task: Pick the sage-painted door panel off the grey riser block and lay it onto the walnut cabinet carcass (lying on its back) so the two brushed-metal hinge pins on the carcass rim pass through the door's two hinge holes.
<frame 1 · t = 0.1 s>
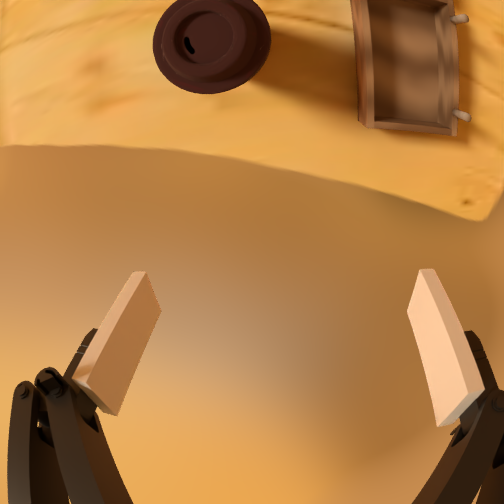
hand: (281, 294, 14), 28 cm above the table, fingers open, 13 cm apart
coffee cup: (236, 49, 30), on the table
carcass: (400, 57, 28), on the table
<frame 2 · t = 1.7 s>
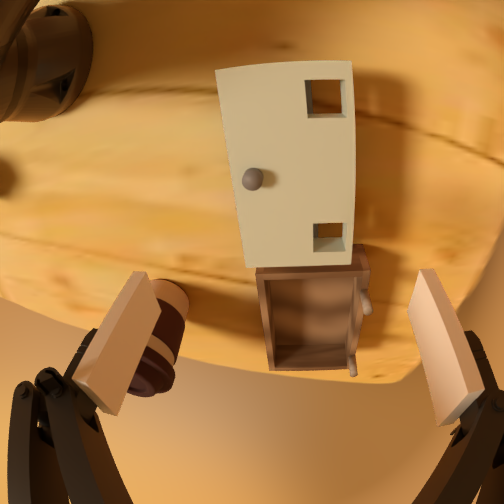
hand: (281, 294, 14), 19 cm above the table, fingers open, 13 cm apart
coffee cup: (166, 296, 42), on the table
door: (293, 165, 25), point 4 cm above the table, touching riser
carcass: (311, 302, 39), on the table
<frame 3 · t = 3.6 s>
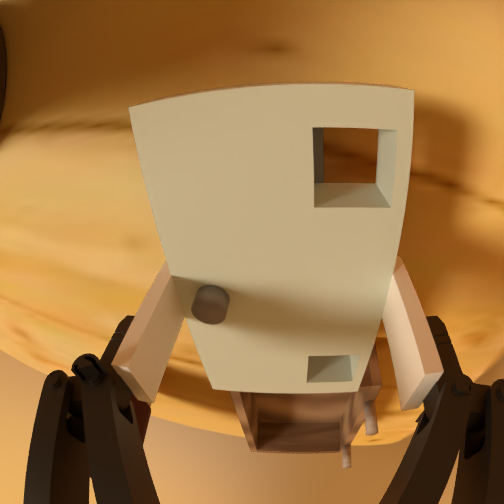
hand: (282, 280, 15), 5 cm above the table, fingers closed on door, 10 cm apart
coffee cup: (130, 368, 32), on the table
riser: (285, 226, 19), on the table
door: (283, 265, 16), point 4 cm above the table, touching gripper, riser
carcass: (302, 389, 30), on the table
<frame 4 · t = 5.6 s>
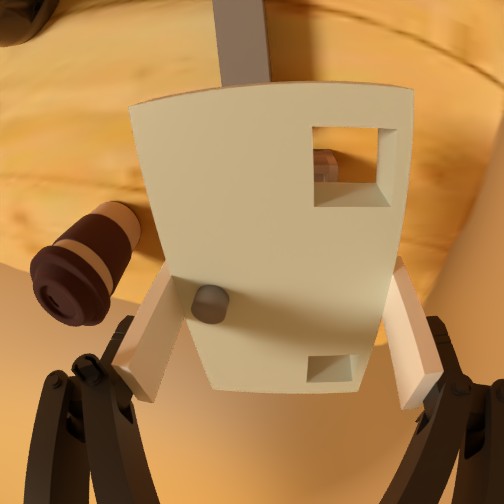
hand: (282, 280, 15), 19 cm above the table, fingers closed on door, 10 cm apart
coffee cup: (118, 223, 37), on the table
riser: (247, 46, 23), on the table
door: (283, 265, 16), point 17 cm above the table, touching gripper
carcass: (276, 225, 34), on the table
when the fingers open (7 cm above the table, at t = 8.0 s): door stays where it is, resting on carcass.
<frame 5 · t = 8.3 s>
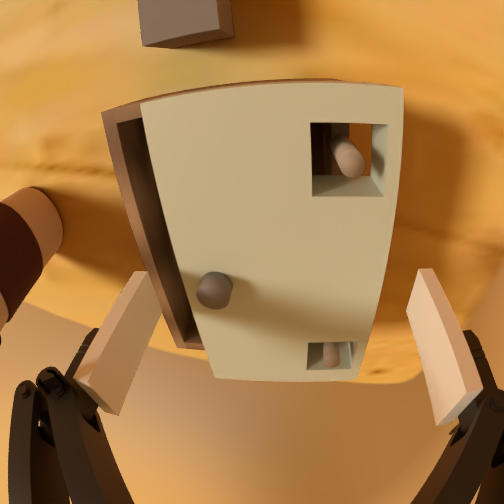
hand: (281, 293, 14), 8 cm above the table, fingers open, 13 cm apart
coffee cup: (40, 218, 24), on the table
door: (283, 254, 16), point 5 cm above the table, touching carcass
carcass: (247, 213, 21), on the table
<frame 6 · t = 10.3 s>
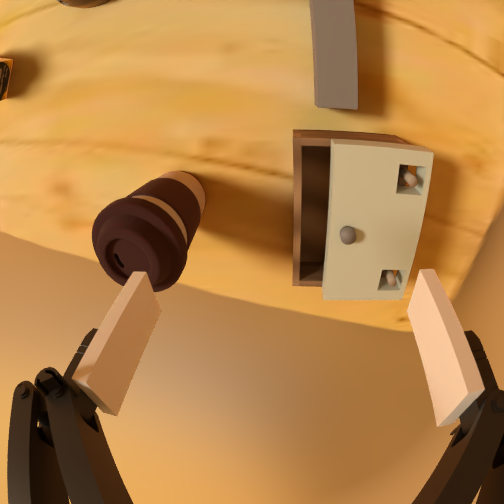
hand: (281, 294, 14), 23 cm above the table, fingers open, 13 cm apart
coffee cup: (180, 195, 38), on the table
medicine bottle: (0, 76, 29), on the table
riser: (330, 37, 25), on the table
door: (371, 222, 31), point 5 cm above the table, touching carcass
carcass: (342, 203, 35), on the table
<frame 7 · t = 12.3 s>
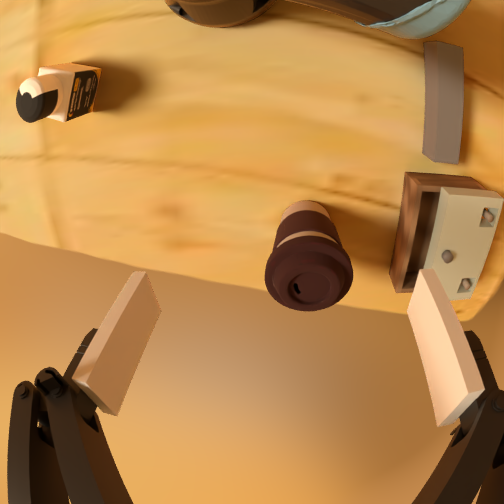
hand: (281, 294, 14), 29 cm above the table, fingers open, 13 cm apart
coffee cup: (305, 221, 44), on the table
medicine bottle: (81, 86, 34), on the table
riser: (437, 99, 30), on the table
door: (456, 244, 37), point 5 cm above the table, touching carcass
carcass: (430, 227, 41), on the table
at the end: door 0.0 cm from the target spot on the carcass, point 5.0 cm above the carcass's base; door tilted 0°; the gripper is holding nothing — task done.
